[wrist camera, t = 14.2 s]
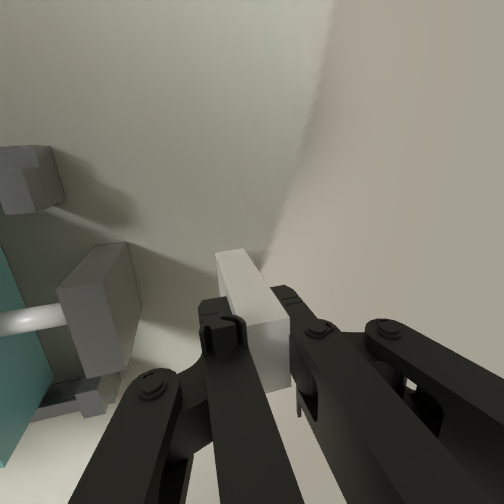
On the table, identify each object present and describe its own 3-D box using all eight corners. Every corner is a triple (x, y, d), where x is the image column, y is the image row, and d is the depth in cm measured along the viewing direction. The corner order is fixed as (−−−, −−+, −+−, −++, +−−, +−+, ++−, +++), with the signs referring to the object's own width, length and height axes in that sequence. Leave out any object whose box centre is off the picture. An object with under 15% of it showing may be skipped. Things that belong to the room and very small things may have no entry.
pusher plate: (39, 380, 16) (-19, 473, 11) (-47, 184, 12) (-187, 204, 7) (153, 356, 17) (144, 430, 13) (109, 172, 13) (73, 182, 9)
